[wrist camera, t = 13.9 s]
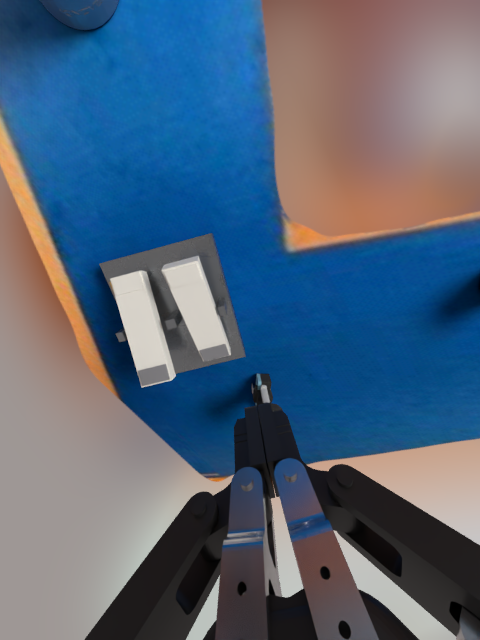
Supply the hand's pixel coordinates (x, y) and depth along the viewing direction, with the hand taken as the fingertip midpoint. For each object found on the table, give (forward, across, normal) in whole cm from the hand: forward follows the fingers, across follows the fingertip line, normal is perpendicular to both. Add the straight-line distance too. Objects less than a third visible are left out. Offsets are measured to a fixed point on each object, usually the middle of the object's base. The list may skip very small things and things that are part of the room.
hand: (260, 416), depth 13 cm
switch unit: (+23, +9, -1) cm, 25 cm away
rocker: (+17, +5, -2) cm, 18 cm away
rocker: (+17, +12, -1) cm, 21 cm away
